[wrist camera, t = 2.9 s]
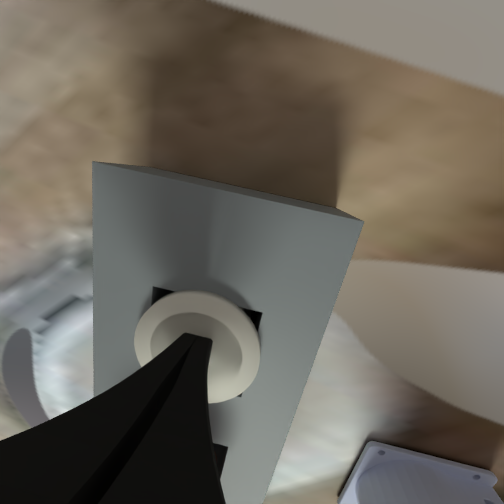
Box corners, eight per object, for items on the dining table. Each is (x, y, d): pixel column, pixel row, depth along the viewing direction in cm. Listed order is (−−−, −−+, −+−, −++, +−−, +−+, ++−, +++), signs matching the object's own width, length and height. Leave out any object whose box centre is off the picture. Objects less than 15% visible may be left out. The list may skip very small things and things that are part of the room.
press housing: (150, 167, 14) (92, 161, 9) (336, 208, 13) (364, 221, 9) (131, 445, 21) (94, 512, 17) (250, 477, 21) (243, 555, 16)
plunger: (274, 274, 14) (273, 314, 10) (254, 354, 16) (245, 415, 12) (178, 252, 14) (137, 281, 10) (169, 333, 16) (131, 386, 12)
